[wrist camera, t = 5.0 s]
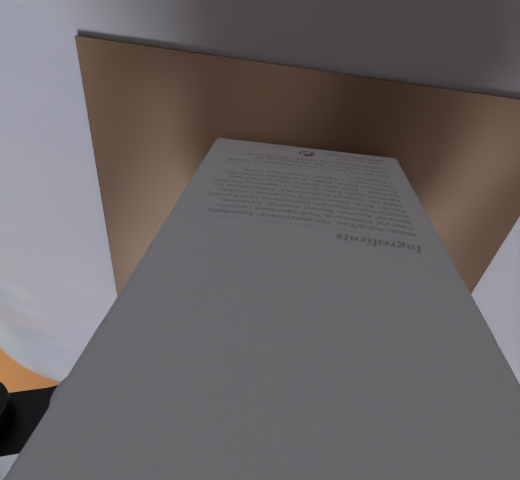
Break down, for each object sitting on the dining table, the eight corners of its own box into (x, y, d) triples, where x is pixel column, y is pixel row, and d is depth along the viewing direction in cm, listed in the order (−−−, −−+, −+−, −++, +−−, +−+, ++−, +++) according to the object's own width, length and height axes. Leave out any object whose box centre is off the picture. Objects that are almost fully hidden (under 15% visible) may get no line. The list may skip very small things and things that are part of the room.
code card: (583, 108, 9) (586, 109, 9) (418, 374, 16) (419, 377, 16) (76, 35, 10) (74, 35, 10) (123, 325, 17) (122, 327, 17)
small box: (217, 132, 11) (-157, 658, 2) (400, 153, 11) (827, 860, 2) (215, 314, 15) (93, 718, 7) (343, 332, 15) (390, 779, 6)
